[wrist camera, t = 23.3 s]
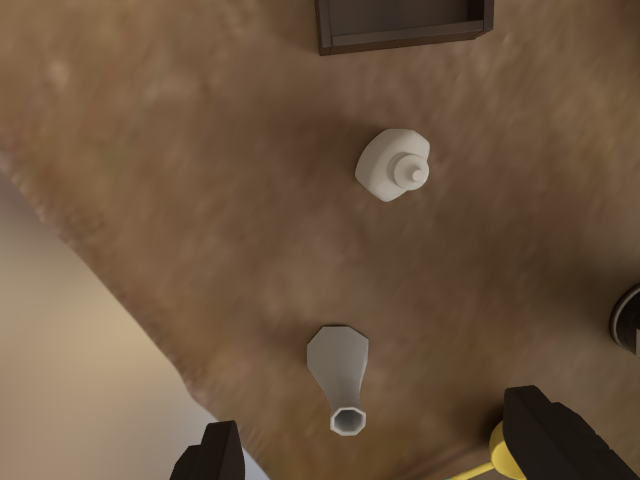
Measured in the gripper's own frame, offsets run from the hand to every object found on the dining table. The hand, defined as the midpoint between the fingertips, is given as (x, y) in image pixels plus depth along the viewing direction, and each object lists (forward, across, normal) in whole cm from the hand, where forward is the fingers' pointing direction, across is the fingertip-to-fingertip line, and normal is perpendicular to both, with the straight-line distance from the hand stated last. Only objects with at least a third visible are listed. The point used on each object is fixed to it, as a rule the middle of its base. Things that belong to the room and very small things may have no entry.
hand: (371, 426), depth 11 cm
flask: (+26, 0, +16) cm, 31 cm away
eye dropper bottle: (+26, -6, -5) cm, 27 cm away
